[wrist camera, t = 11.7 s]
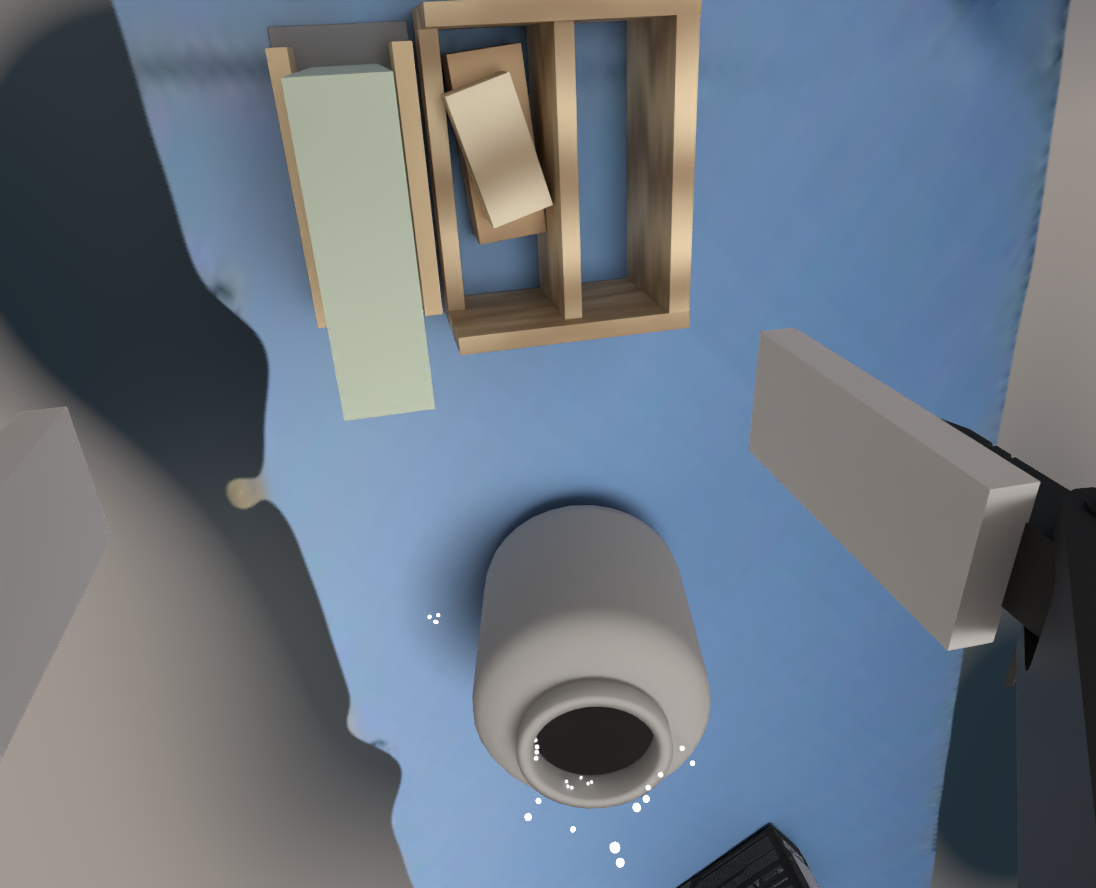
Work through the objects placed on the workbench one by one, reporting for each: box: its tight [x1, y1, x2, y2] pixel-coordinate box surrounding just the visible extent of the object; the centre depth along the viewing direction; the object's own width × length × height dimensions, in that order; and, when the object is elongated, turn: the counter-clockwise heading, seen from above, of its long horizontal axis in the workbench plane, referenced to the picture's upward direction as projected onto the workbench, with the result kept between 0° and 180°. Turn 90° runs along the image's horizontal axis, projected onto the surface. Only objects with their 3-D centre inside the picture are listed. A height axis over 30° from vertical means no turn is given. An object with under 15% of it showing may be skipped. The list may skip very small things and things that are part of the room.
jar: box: [428, 505, 711, 867], centre depth 50 cm, size 19×15×25 cm
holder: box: [265, 21, 443, 328], centre depth 43 cm, size 16×7×5 cm, turn 3°
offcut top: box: [441, 71, 553, 228], centre depth 42 cm, size 7×4×2 cm, turn 19°
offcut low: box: [441, 43, 547, 244], centre depth 45 cm, size 10×4×4 cm, turn 8°
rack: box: [412, 0, 702, 355], centre depth 44 cm, size 17×13×8 cm
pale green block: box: [281, 64, 435, 421], centre depth 36 cm, size 12×4×20 cm, turn 3°
